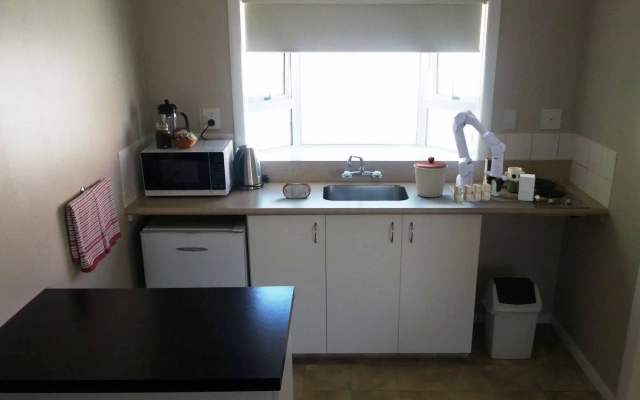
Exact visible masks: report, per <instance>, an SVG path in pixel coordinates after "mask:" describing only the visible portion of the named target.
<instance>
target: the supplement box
mask: <svg viewBox="0 0 640 400" xmlns="http://www.w3.org/2000/svg"><path fill="white" fill-rule="evenodd" d="M518 182H519V192H517V193H518V194H517V195H518V197H517V199H518V201H527V202H533V201H534V194H535V193H534V192H535V183H536V175H535V174H529V173H525V174H523V173H522V174H520V180H519V181H518Z"/></svg>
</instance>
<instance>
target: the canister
mask: <svg viewBox="0 0 640 400" xmlns="http://www.w3.org/2000/svg"><path fill="white" fill-rule="evenodd" d="M413 167H414V175H415V186H416V192H417V194H418V195H419V196H420V197H422V198H423V197H424V198H438V197H440V196H441V195H442V194H443V193H444V187H445V183H446V177H447V170H448V168H449V165H448V164H446V163H445V162H442V161H439V160H435V157H434V156H428V157H427V160H421V161H417V162H415V163H414V164H413Z"/></svg>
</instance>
